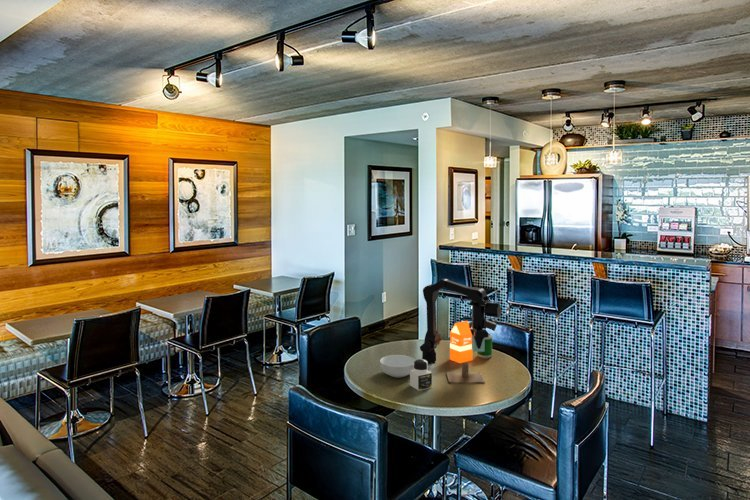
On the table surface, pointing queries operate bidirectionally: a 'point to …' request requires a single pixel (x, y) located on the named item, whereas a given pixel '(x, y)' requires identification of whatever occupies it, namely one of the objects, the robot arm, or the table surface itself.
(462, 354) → the orange juice
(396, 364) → the cereal bowl
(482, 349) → the pale teal block
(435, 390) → the table surface
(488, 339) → the soda can
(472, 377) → the wooden base plate
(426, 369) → the medicine bottle
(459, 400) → the table surface
